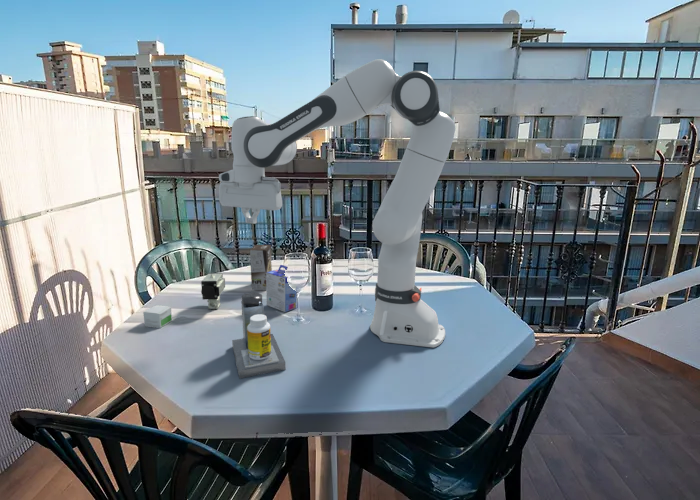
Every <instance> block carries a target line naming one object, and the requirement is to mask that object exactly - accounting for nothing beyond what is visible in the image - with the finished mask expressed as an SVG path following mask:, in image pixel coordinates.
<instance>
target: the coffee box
mask: <svg viewBox="0 0 700 500" xmlns="http://www.w3.org/2000/svg"><path fill="white" fill-rule="evenodd" d="M249 256H250V257H249V259H250V278H251V279H250V280H251V291H266V273H267V272H270V271H273V268H272V267H273V266H272V265H273V264H272V245H271V244H255V245H254V246H253V247H252V248H250V250H249Z"/></svg>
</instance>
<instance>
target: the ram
mask: <svg viewBox="0 0 700 500" xmlns="http://www.w3.org/2000/svg"><path fill="white" fill-rule="evenodd" d="M241 301H242V303H241V305H242V304H244V305H248V306H254V305H258V304H260V303H263V295H262V294H261V293H259V292H250V293H249V292H248V293H244V294H243V295H242V296H241Z"/></svg>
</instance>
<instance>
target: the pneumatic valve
mask: <svg viewBox="0 0 700 500" xmlns="http://www.w3.org/2000/svg"><path fill="white" fill-rule="evenodd" d="M223 274H224V273H223V272H209V273H207V275H206V276H205V277H204V278H203V279H202V280H201V282H200V284H201V285H200V286H201V291H200V293H201V295H202V297H201V298H202V300H204V301H205V300H207V305H208V307H207V309H208V310H211V309H212V310H214V309H215V310H219V309H220V307H221V306H222V305H221V294H222V293H223V291H224V290H225V288H226V278H224V276H223Z"/></svg>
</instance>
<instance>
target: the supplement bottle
mask: <svg viewBox="0 0 700 500" xmlns="http://www.w3.org/2000/svg"><path fill="white" fill-rule="evenodd" d="M271 334H272V333H271V324H270V323H269V322H268V318H267V315H265V314H264V315H263V314H257V315H253V316H251V318H250V324H249V325H248V326H247V335H248V354H249V357H250V358H251V359H254V360H262V359H266V358H267V357H269V356H270V354H271Z"/></svg>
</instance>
